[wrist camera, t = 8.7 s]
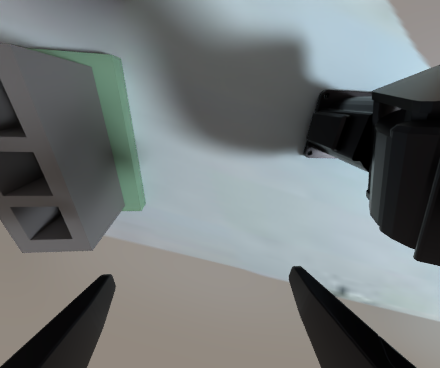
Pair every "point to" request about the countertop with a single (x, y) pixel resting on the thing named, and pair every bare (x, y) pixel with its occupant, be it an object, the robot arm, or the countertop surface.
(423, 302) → the countertop surface
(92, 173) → the grey cinder block
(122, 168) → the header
